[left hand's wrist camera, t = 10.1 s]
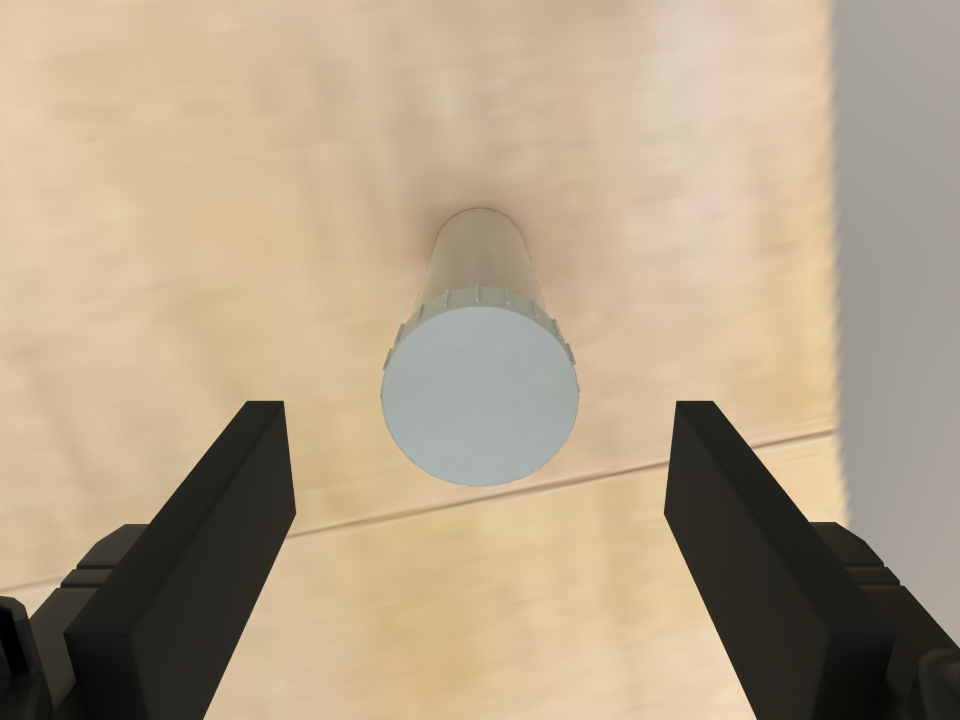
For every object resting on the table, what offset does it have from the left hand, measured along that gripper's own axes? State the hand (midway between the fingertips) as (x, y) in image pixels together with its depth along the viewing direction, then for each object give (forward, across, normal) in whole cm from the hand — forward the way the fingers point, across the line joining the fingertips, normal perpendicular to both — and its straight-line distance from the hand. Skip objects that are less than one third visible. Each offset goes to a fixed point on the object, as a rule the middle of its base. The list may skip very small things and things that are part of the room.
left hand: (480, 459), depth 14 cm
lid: (+3, 0, 0) cm, 3 cm away
